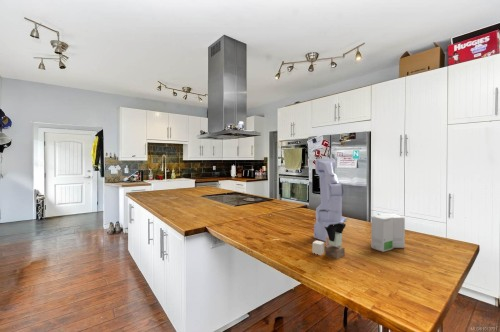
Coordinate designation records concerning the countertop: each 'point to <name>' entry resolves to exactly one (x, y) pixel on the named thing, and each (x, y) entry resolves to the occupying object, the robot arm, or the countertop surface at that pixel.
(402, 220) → the supplement box
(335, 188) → the robot arm
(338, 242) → the sage block
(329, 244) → the terracotta cylinder
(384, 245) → the skincare box
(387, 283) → the countertop surface
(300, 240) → the countertop surface
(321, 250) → the cream block
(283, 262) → the countertop surface
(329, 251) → the walnut block
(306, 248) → the countertop surface
